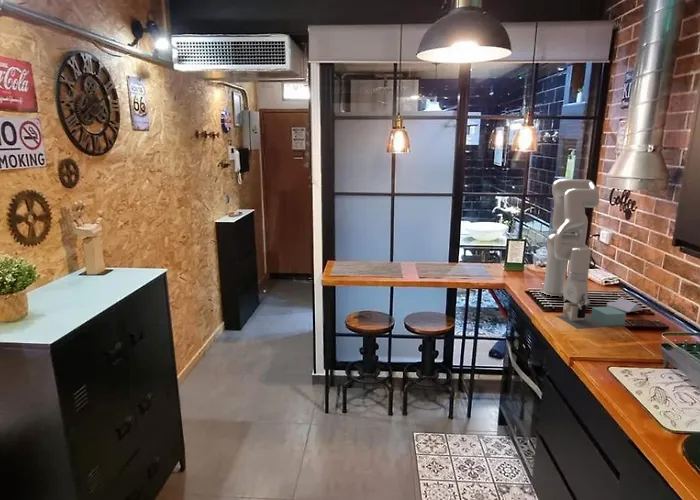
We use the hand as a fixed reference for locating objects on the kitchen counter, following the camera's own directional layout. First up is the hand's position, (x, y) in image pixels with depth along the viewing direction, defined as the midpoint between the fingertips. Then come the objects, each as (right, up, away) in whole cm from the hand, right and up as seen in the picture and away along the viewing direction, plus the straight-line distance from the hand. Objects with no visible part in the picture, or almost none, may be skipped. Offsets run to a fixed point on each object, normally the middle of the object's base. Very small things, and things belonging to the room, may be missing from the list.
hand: (573, 313), depth 199 cm
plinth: (+13, -3, -3) cm, 14 cm away
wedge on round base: (+27, -1, +10) cm, 29 cm away
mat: (+7, -4, -2) cm, 8 cm away
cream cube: (0, -2, +1) cm, 2 cm away
